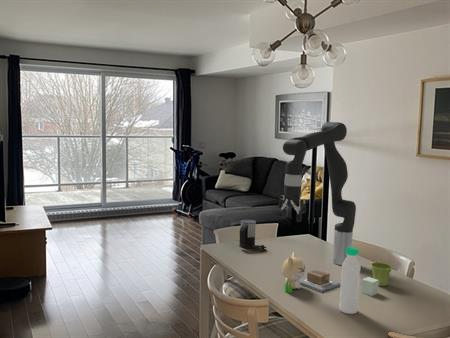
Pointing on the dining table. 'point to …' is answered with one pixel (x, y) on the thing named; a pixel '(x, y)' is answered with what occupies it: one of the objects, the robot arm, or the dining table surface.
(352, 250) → the water bottle
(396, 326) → the dining table surface
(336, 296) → the dining table surface
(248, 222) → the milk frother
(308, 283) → the plate
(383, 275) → the plant pot
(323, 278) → the walnut base block
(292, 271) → the kitten
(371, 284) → the sage block
